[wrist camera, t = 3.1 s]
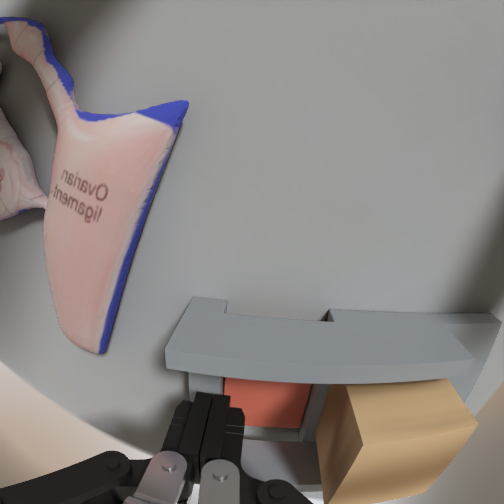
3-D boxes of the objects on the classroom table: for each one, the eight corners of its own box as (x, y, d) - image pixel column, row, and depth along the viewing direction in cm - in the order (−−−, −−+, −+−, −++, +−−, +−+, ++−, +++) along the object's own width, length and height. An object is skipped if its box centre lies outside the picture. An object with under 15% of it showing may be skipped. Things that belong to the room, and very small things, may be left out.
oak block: (337, 358, 12) (363, 444, 7) (431, 356, 12) (478, 424, 7) (314, 431, 14) (324, 508, 9) (398, 426, 14) (423, 492, 9)
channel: (193, 296, 13) (164, 349, 9) (490, 313, 13) (533, 349, 9) (196, 425, 15) (181, 481, 11) (438, 423, 15) (460, 466, 11)
